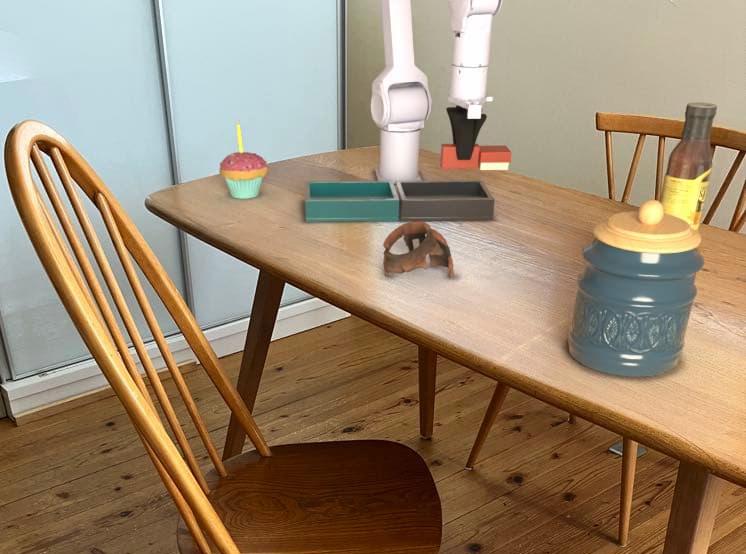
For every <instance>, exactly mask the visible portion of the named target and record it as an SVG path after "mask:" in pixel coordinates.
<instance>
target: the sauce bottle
mask: <svg viewBox="0 0 746 554" xmlns="http://www.w3.org/2000/svg"><path fill="white" fill-rule="evenodd" d="M717 109H718V105H717V104H715V103H710V102H689V103H687V104H686V108H685V112H684V117H685V120H684V123H683V124H684V125H683V130H682V132H681V139H680V141H679V142H678V143H677V144H676V145H675V147H674V148H673V149H672V151H671V153H670V154H669V157H668V163H667V168H666V171H665V173H664V174H665V175H664V179H663V184H662V188H661V193H660V198H659V202H661V203H662V205H663V208H664V214H668V215H672V216H675V217H678V218H681V219H683V220H685V221H686V222H688V224H689V225H690V227H691V228H692V229H694V230H695V231H696V232H698V233H699V227H700V223H701V219H702V214H703V210H704V207H705V201H706V197H707V192H708V187H709V183H710V179H711V174H712V170H713V159H712V158H713V157H712V149H711V148H712V147H711V139H710V138H711V131H712V127H713V123H714V119H715V117H716V115H717Z"/></svg>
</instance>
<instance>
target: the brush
mask: <svg viewBox="0 0 746 554" xmlns="http://www.w3.org/2000/svg"><path fill="white" fill-rule="evenodd" d="M440 145H441V146H440V159H439V160H440V161H439V167H440V168H441V170H461V169H462V170H467V169H469V170H470V169H471V170H473V169H475V170H476V169H479V170H480V171H508V170H509V165H510V163H511V161H512V151H511V150H510V148H509V147H508V146H507V145H480V144H478V143H475V146H474V150H473V154H472V157H471V159H470V160H458V159H457V154H456V144H453V143H441V144H440Z"/></svg>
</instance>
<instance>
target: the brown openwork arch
mask: <svg viewBox="0 0 746 554" xmlns="http://www.w3.org/2000/svg"><path fill="white" fill-rule="evenodd" d="M402 238H403V242H404V243H405V245H406V247H407V248H408V251H407V252H404V253H399V254H398V253H396V254H395V253H392V252H390V250H391V248H392V247H393V245H395V243H397V242H398V241H399V240H400V239H402ZM383 247H384V251H383V252H382V253H383V254H382V255H383V261H382V268H383V272H384V275H385V276H386V277H389V276H390V274H399V275H402V274H404V273H405V272H406V273H410V272H413V271H415V270H417V269H423V270H428V264H427V262H428V261H427V256H428V257H429V260H430V266H431V267H443V268H447V269H448V270H449V277H450V278H451V279H452V278H454V277H455V271H454V261H453V257H452V254H451V250H450V246H449V244H448V241H447V239H446V238H445V237H444V236H443V234H441V233H440V232H438V231H437V230H435V229H433V228H432V227H431V226H430V224H428V223H427V222H426V221H418V220H414V221H408V222H406V223H403V224H401V225H400V226H398V227H397V228H395V229H394V230H392V232H390V233H389V234H388V235H387V237H386V238H385V239H384V241H383Z"/></svg>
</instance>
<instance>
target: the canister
mask: <svg viewBox="0 0 746 554" xmlns="http://www.w3.org/2000/svg"><path fill="white" fill-rule="evenodd" d="M592 230H593V231H592V233H593V235H594V237H595V238H594V239H592V240H590V241H588V242H587V243H585V245H584V246H583V247H582V248H581V255H582V258H583V259H584V266H583V270H582V272H581V273H580V274H579V275H578V276H577V280H576V282H577V283H576V284H577V290H576V296H575V301H574V309H573V312H572V313H573V314H572V321H571V324H570V326H569V328H568V335H567V341H568V352H569V354H570V356H571V357H572V358H573V359H574V360H575V361H577V362H578V363H580V364H581V365H583V366H585V367H587V368H589V369H591V370H595V371H597V372H601V373H604V374H608V375H613V376H621V377H634V378H636V377H637V378H640V377H651V376H658V375H661V374H662V375H663V374H664V373H667V372H669V371H671V370H673V369H674V368H675V367H676V366H677V364H678V362H679V359H680V358H681V356H682V355H683V352H684V347H685V345H686V344H685V342H686V341H685V336H686V333H687V329H688V324H689V320H690V317H691V312H692V308H693V303H694V299H695V298H696V296H697V294H698V290H697V286H696V285H695V283H696V276H697V273H698V272H700V271H701V270H702V269H703V267H704V265H705V258H704V256H703V255H702V254H701V252H699V251H698V250H697V249H696V248H697V247H698V246H699V245H700V244H701V242H702V236H701V234H700V233H699V231H698V232H696V231H695V230H694V229H692V228H691V227H690V225H689V224H688V222H686V221H685V220H683V219H681V218H678V217H675V216H672V215H668V214H664V208H663V205H662V203H661V202H660V200H657V199H647V200H645V201H644V202H643V203H642V204H641V205H640V206H639V208H638V210H634V211H633V210H632V211H622V212H618V213H614V214H612V215H611V216H609V218H607V219H605V220H602V221H600V222H598V223H597V224H596V225H595V226H594V227H593V229H592Z"/></svg>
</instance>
